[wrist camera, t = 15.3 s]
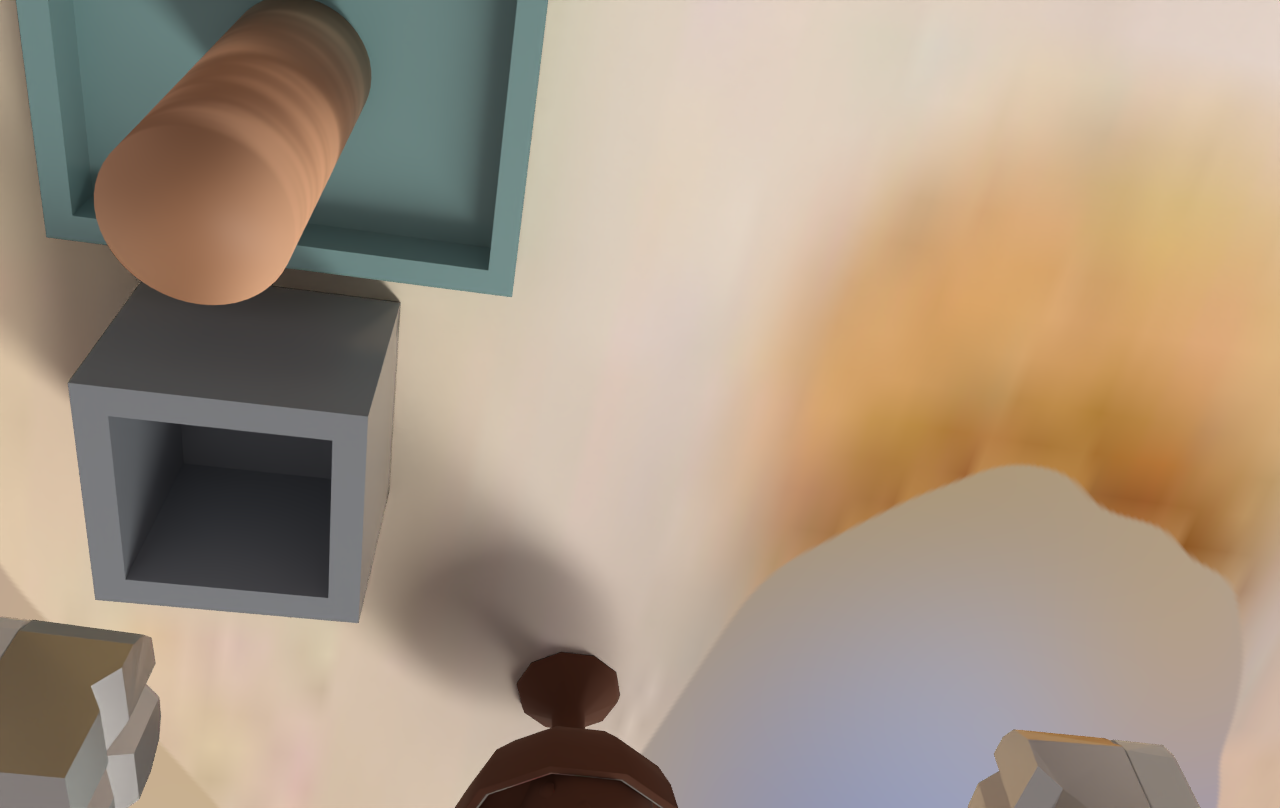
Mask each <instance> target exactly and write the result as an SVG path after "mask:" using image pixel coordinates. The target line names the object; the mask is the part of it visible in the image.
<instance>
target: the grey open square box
mask: <svg viewBox="0 0 1280 808" xmlns="http://www.w3.org/2000/svg"><path fill="white" fill-rule="evenodd" d="M400 303H401V302H393V301H385V300H377V299H369V298H361V297H353V296H345V295H337V294H329V293H321V292H314V291H306V290H298V289H290V288H282V287H274V286H269V287H268V288H267V289H266V290H264V291H263V292H261V293H259V294H258V295H256V296H254V297H251V298H249V299H247V300H243V301H240V302H237V303H231V304H225V305H203V304H195V303H190V302H185V301H182V300H178V299H175V298H172V297H170V296H167V295H165V294H163V293H161V292H159V291H157V290H155V289H153V288H151V287H150V286H148V285H146V284H145V283H143V282H142V281H141V282H140V284H139V285H138V287H137V288H136V289H135V291H134V292H133V293H132V295H131V296H130V298H129V299H128V300H127V302H126V303H125V305H124V306H123V307H122V309H121V310H120V311H119V313H118V314H117V316H116V317H115V318H114V320H113V321H112V322H111V324H110V325H109V327H108V328H107V329H106V331H105V332H104V334H103V335H102V336H101V338H100V339H99V340H98V342H97V343H96V345H95V346H94V347H93V349H92V350H91V352H90V353H89V354H88V356H87V357H86V358H85V360H84V361H83V363H82V364H81V365H80V367H79V368H78V369H77V371H76V372H75V374H74V375H73V376H72V378H71V379H70V381H69V382H68V388H69V396H70V404H71V412H72V420H73V428H74V435H75V443H76V451H77V459H78V467H79V475H80V483H81V491H82V498H83V506H84V514H85V522H86V530H87V538H88V546H89V554H90V561H91V569H92V577H93V585H94V593H95V600H103V601H114V602H126V603H137V604H148V605H160V606H171V607H182V608H194V609H205V610H216V611H227V612H239V613H250V614H261V615H273V616H284V617H295V618H307V619H318V620H329V621H340V622H352V623H359V619H360V615H361V611H362V606H363V602H364V598H365V593H366V589H367V585H368V580H369V576H370V572H371V567H372V563H373V559H374V555H375V550H376V546H377V542H378V537H379V533H380V529H381V524H382V520H383V516H384V511H385V507H386V503H387V498H388V494H389V483H390V467H391V451H392V434H393V418H394V401H395V385H396V369H397V352H398V336H399V319H400Z"/></svg>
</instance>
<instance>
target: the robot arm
mask: <svg viewBox="0 0 1280 808" xmlns="http://www.w3.org/2000/svg"><path fill="white" fill-rule="evenodd" d="M154 665H155V656H154V650H153V644H152V638H151V637H148V636H145V635H141V634H134V633H127V632H119V631H112V630H105V629H97V628H90V627H82V626H75V625H68V624H60V623H53V622H45V621H38V620H26V619H18V618H10V617H2V616H0V808H128V807H129V806H131V805H132V804H134V803H135V802H136V801H138V800H139V799H140V796H141V794H142V791H143V789H144V787H145V784H146V782H147V779H148V777H149V774H150V772H151V769H152V765H153V761H154V757H155V753H156V749H157V745H158V741H159V733H160V720H161V711H160V700H159V696H158V695H157V694H156V693H155V692H154V691H153V690H152V689H151V688H150V687H149V686H148V685H147V684H146V683H147V680H148V678H149V676H150V674H151V672H152V670H153V668H154ZM994 756H995V759H996V762H997V765H998V768H999V771H998V772H997V773H995V774H993V775H991V776H990V777H988V778H986V779H985V780H983V781H981V782H980V783H978V785H977V787H976V790H975V792H974V794H973V796H972V798H971V800H970V802H969V805H968V808H1200V806H1199V804H1198V802H1197V800H1196V798H1195V796H1194V794H1193V792H1192V790H1191V788H1190V786H1189V784H1188V782H1187V780H1186V778H1185V776H1184V774H1183V772H1182V770H1181V768H1180V766H1179V764H1178V762H1177V760H1176V759H1175V757H1174V755H1173V754H1172V753H1171V752H1170V751H1169V750H1167V748H1165V747H1164V746H1163V745H1157V744H1148V743H1139V742H1129V741H1119V740H1108V739H1105V738H1095V737H1085V736H1075V735H1065V734H1055V733H1045V732H1035V731H1024V730H1012V731H1011V732H1009V733H1008V734H1007V735H1005V736H1004V737H1003V738H1002V740H1001V742H1000V743H999V745H998V747H997V749H996V751H995V753H994Z"/></svg>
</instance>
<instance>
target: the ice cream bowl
mask: <svg viewBox="0 0 1280 808" xmlns="http://www.w3.org/2000/svg"><path fill="white" fill-rule="evenodd" d="M517 687H518V691H519V695H520V699H521V704H522V707H523V710H524V713H526V714H527V715H529V716H530V717H532V718H533V719H535V720H536V721H538V722H539V723H540V724H542V725H543V726H545V727H550V729H547V730H544V731H541V732H538V733H535V734H532V735H530V736H527V737H524V738H521V739H518V740H515V741H513V742H511V743H509V744H507V745H505V746H503V747H501V748H499V749H497V750H496V751H495V752H494V754H493V755H492V756H491V758H490V759H489V761H488V762H487V763H486V765H485V766H484V767H483V769H482V770H481V771H480V773H479V774H478V775H477V777H476V778H475V779H474V781H473V782H472V783H471V785H470V786H469V787H468V789H467V790H466V792H465V793H464V795H463V796H462V798H461V799H460V801H459V802H458V804H457V805H456V807H455V808H678V806H677V803H676V800H675V797H674V793H673V790H672V787H671V784H670V783H669V782H668V780H667V779H666V777H665V776H664V774H663V773H662V771H661V770H660V769H659V767H658V766H657V765H655V764H654V763H652V762H651V761H650V760H648V759H647V758H645V757H644V756H642V755H641V754H640V753H638V752H637V751H635V750H634V749H633V748H631V747H630V746H628V745H627V744H625V743H624V742H623V741H621V740H620V739H618V738H617V737H615V736H613V735H611V734H609V733H607V732H605V731H599V730H590V729H585V727H586V726H589V725H592V724H595V723H598V722H601V721H603V720H604V718H605V717H606V716H607V715H608V713H609V712H610V711H611V710H612V708H613V707H614V706H615V705H616V703H617V702H618V699H619V696H620V692H619V686H618V680H617V674H616V672H615V671H614V670H612V669H611V668H610V667H608V666H607V665H605V664H604V663H603V662H601V661H600V660H599V659H597V658H596V657H595V656H590V655H581V654H573V653H564V652H560V653H557V654H555V655H552V656H549V657H546V658H543V659H541V660H538V661H535V662H532V663H531V664H530V666H529V667H528V668H527V670H526V671H525V672H524V674H523V675H522V677H521V678H520V679H519V681H518V682H517Z"/></svg>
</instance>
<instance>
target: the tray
mask: <svg viewBox="0 0 1280 808" xmlns="http://www.w3.org/2000/svg"><path fill="white" fill-rule="evenodd" d="M261 1H263V0H16V5H17V12H18V20H19V28H20V36H21V44H22V51H23V59H24V67H25V75H26V82H27V90H28V98H29V106H30V114H31V121H32V129H33V137H34V145H35V152H36V160H37V168H38V176H39V184H40V191H41V199H42V207H43V215H44V222H45V230H46V237H49V238H56V239H64V240H72V241H80V242H87V243H95V244H103V245H107V243H106V242H105V239H104V237H103V235H102V233H101V231H100V228H99V225H98V222H97V219H96V214H95V209H94V189H95V183H96V179H97V176H98V173H99V171H100V168H101V166H102V164H103V162H104V161H105V160H106V158H107V157H108V155H109V154H110V153H111V152H112V151H113V150H114V149H115V148H116V147H117V146H118V144H119V143H120V142H121V141H122V140H123V139H124V138H125V137H126V136H127V135H128V134H129V133H130V132H131V131H132V130H133V129H134V128H135V127H136V126H137V125H138V124H139V123H140V122H141V120H142V119H143V118H144V117H145V116H146V115H147V114H148V113H149V112H150V111H151V110H152V109H153V108H154V107H155V106H156V105H157V104H158V103H159V102H160V101H161V100H162V99H163V98H164V96H165V95H166V94H167V93H168V92H169V91H170V90H171V89H172V88H173V87H174V86H175V85H176V84H177V83H178V82H179V81H180V80H181V79H182V78H183V77H184V76H185V75H186V74H187V72H188V71H189V70H190V69H191V68H192V67H193V66H194V65H195V64H196V63H197V62H198V61H199V60H200V59H201V58H202V57H203V56H204V55H205V54H206V53H207V52H208V51H209V50H210V48H211V47H212V46H213V45H214V44H215V43H216V42H217V41H218V40H219V39H220V38H221V37H222V36H223V35H224V34H225V33H226V32H227V31H228V30H229V29H230V28H231V27H232V26H233V24H234V23H235V22H236V21H237V20H238V19H239V18H240V17H241V16H242V15H243V14H244V13H245V12H246V11H247V10H248V9H250V8H251V7H252V6H254V5H255V4H257V3H259V2H261ZM315 1H318V2H320V3H322V4H324V5H326V6H328V7H330V8H332V9H333V10H335V11H336V12H338V13H339V14H340V15H341V16H342V17H344V18H345V19H346V20H347V21H348V22H349V23H350V24H351V25H352V27H353V28H354V29H355V31H356V32H357V33H358V35H359V37H360V38H361V40H362V42H363V44H364V46H365V48H366V50H367V53H368V57H369V60H370V66H371V88H370V92H369V96H368V98H367V101H366V103H365V105H364V107H363V109H362V111H361V114H360V116H359V118H358V120H357V122H356V124H355V126H354V128H353V130H352V132H351V134H350V136H349V138H348V140H347V142H346V144H345V147H344V149H343V151H342V153H341V155H340V157H339V159H338V161H337V163H336V165H335V167H334V169H333V171H332V173H331V175H330V177H329V179H328V182H327V184H326V186H325V188H324V190H323V192H322V194H321V196H320V198H319V200H318V202H317V204H316V206H315V208H314V210H313V212H312V215H311V217H310V219H309V221H308V223H307V225H306V227H305V229H304V231H303V233H302V235H301V237H300V239H299V241H298V243H297V245H296V247H295V250H294V252H293V254H292V256H291V258H290V260H289V262H288V264H287V266H286V267H285V268H289V269H297V270H305V271H313V272H320V273H328V274H336V275H344V276H352V277H359V278H367V279H375V280H383V281H390V282H398V283H406V284H414V285H421V286H429V287H437V288H445V289H452V290H460V291H468V292H476V293H484V294H491V295H499V296H507V297H512V292H513V284H514V276H515V268H516V260H517V251H518V243H519V235H520V227H521V219H522V210H523V202H524V194H525V186H526V177H527V169H528V161H529V153H530V145H531V136H532V128H533V120H534V112H535V104H536V95H537V87H538V79H539V71H540V62H541V54H542V46H543V38H544V30H545V21H546V13H547V5H548V0H315Z"/></svg>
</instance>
